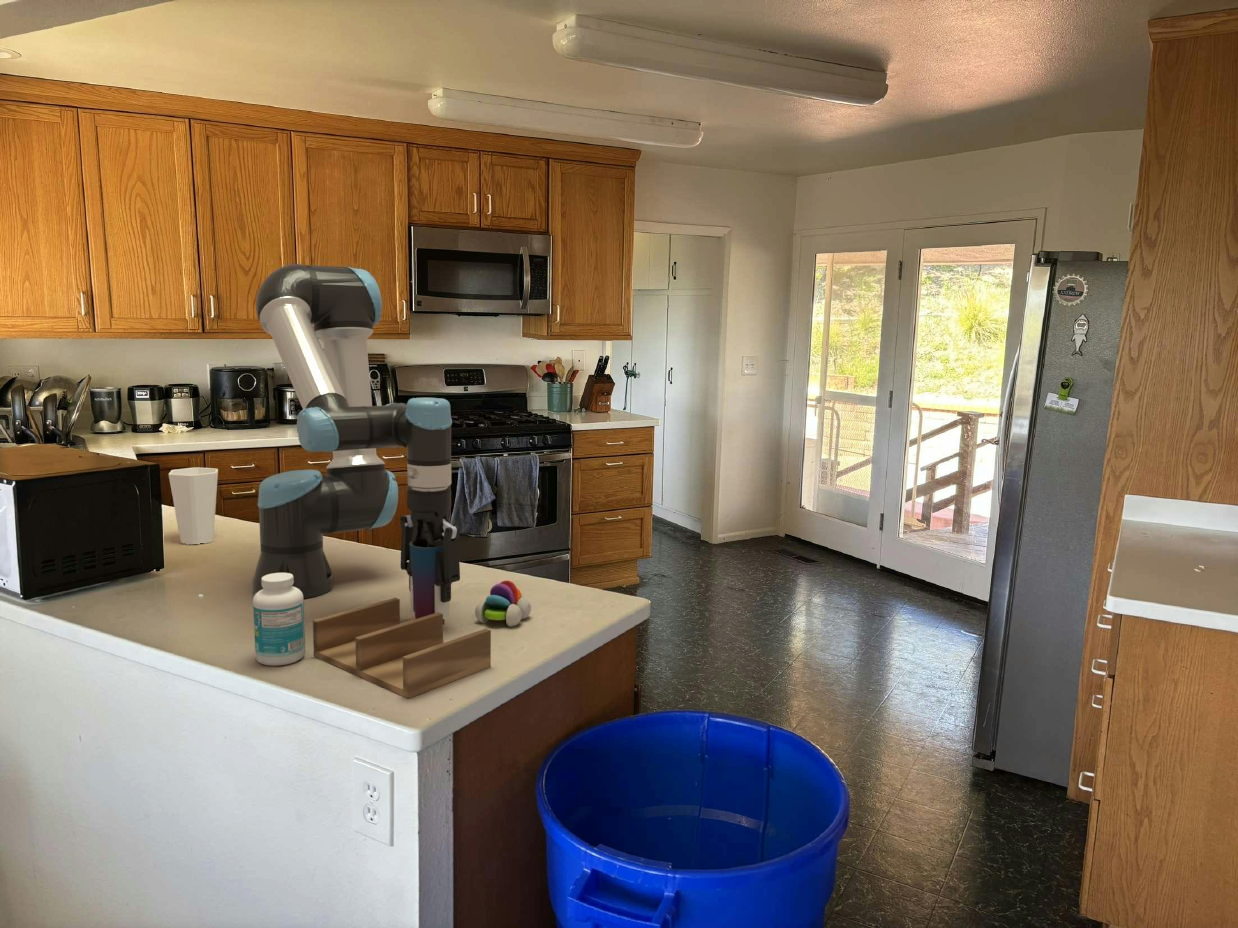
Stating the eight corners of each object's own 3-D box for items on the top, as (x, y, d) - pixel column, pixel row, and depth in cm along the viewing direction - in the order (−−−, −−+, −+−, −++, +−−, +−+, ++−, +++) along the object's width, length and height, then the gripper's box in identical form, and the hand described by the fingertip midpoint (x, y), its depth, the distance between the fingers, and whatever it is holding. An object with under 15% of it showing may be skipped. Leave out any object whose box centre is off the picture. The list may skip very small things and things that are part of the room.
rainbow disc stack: (535, 615, 162) (536, 578, 160) (512, 632, 153) (512, 592, 151) (494, 609, 164) (494, 572, 163) (469, 625, 155) (469, 586, 154)
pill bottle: (264, 649, 141) (261, 569, 139) (310, 649, 142) (308, 569, 140) (248, 667, 134) (245, 583, 132) (298, 667, 134) (295, 583, 132)
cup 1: (161, 544, 203) (157, 473, 201) (189, 534, 213) (186, 466, 210) (205, 548, 202) (201, 476, 199) (231, 537, 211) (228, 469, 209)
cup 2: (440, 632, 151) (439, 549, 149) (403, 628, 152) (403, 545, 150) (455, 619, 158) (455, 539, 155) (420, 616, 159) (419, 536, 156)
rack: (313, 656, 139) (312, 620, 138) (395, 630, 151) (395, 597, 150) (408, 698, 124) (408, 658, 123) (490, 666, 137) (490, 630, 136)
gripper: (377, 482, 154) (379, 607, 157) (448, 498, 142) (448, 632, 146) (412, 477, 160) (413, 597, 163) (482, 491, 148) (481, 621, 152)
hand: (429, 613), depth 155 cm, fingers closed on cup 2, 6 cm apart
